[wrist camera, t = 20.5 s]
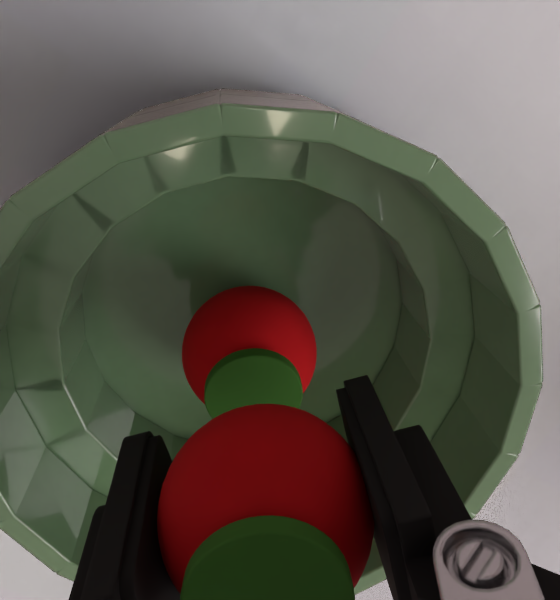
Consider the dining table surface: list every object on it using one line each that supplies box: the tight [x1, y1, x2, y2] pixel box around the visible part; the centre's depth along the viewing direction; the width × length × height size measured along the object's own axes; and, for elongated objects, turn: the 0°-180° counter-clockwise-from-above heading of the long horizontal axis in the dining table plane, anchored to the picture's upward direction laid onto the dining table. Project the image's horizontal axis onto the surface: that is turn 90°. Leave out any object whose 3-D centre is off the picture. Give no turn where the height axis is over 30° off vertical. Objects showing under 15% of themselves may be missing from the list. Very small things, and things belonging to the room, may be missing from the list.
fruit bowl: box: [0, 88, 543, 595], centre depth 16 cm, size 14×14×6 cm
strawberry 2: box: [157, 404, 374, 600], centre depth 10 cm, size 4×4×4 cm
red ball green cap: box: [182, 286, 317, 419], centre depth 16 cm, size 4×4×4 cm
